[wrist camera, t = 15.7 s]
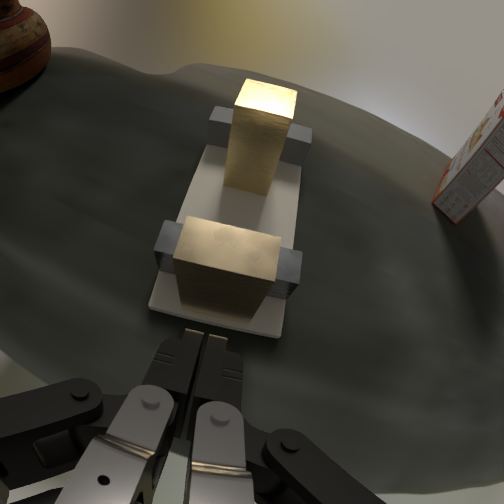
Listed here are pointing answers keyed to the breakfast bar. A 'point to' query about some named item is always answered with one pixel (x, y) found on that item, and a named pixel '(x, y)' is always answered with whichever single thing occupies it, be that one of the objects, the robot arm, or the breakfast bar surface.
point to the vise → (240, 216)
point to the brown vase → (21, 44)
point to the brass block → (258, 135)
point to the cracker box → (474, 167)
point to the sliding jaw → (226, 267)
